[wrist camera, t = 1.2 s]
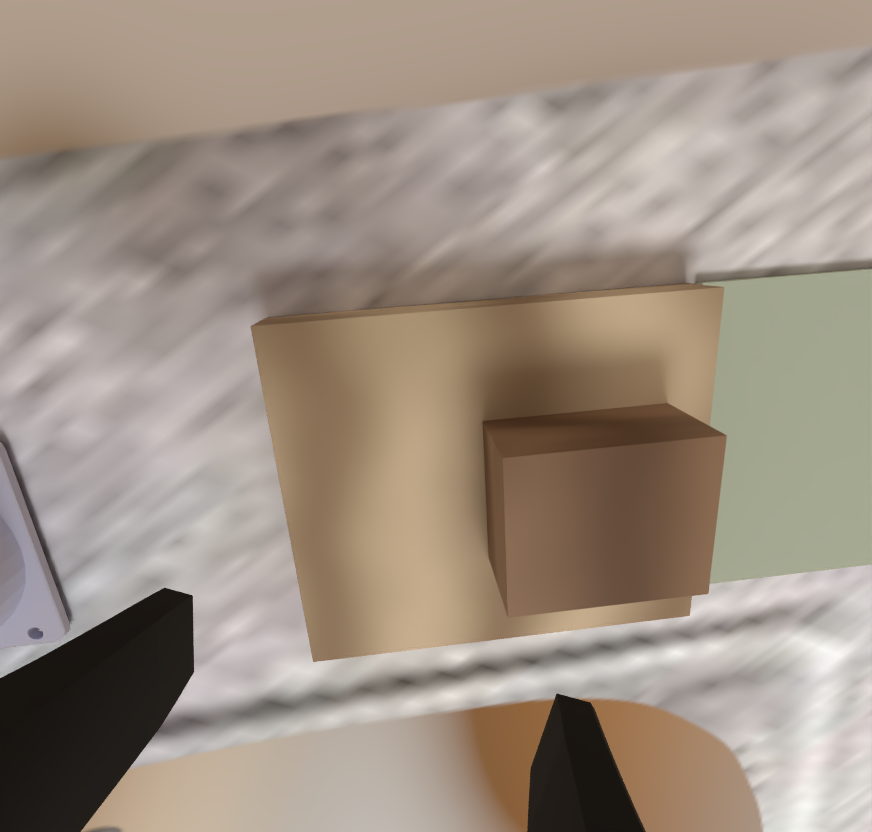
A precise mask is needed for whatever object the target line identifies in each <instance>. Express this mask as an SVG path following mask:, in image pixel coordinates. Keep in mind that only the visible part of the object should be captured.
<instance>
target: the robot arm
mask: <svg viewBox="0 0 872 832" xmlns="http://www.w3.org/2000/svg"><path fill="white" fill-rule="evenodd" d="M36 628H38V629H40V630H41V631H39V630H37V629H36ZM69 629H70V623H69V620H68V618H67V615H66V612H65V609H64V607H63V604H62V601H61V598H60V596H59V593H58V590H57V588H56V585H55V582H54V579H53V577H52V574H51V571H50V569H49V566H48V563H47V560H46V558H45V555H44V552H43V549H42V547H41V544H40V541H39V539H38V536H37V533H36V530H35V528H34V525H33V522H32V519H31V517H30V514H29V511H28V509H27V506H26V503H25V500H24V498H23V495H22V492H21V490H20V487H19V484H18V481H17V479H16V476H15V473H14V470H13V468H12V465H11V462H10V460H9V457H8V454H7V451H6V449H5V447H4V445H3V444H2V443H1V442H0V648H7V647H16V646H25V645H33V644H42V643H50V642H56V641H60V640H61V639H62V638H64V636H65V635H66V634H67V633H68V632H69ZM193 673H194V646H193V595H189V594H185V593H182V592H178V591H174V590H171V589H167V588H163V589H161V590H160V591H158V592H156V593H154V594H152V595H150V596H149V597H147V598H145V599H143V600H142V601H140V602H138V603H136V604H134V605H133V606H131V607H129V608H127V609H126V610H124V611H122V612H120V613H119V614H117V615H115V616H114V617H112V618H110V619H108V620H107V621H105V622H103V623H101V624H99V625H98V626H96V627H94V628H92V629H91V630H89V631H87V632H85V633H84V634H82V635H80V636H78V637H76V638H75V639H73V640H71V641H69V642H67V643H66V644H64V645H62V646H60V647H58V648H57V649H55V650H53V651H51V652H49V653H48V654H46V655H44V656H42V657H40V658H38V659H37V660H35V661H33V662H31V663H29V664H27V665H25V666H23V667H21V668H19V669H17V670H15V671H14V672H12V673H10V674H8V675H6V676H4V677H2V678H0V832H81V830H82V829H83V828H84V826H85V825H86V824H87V823H88V821H89V820H90V819H91V817H92V816H93V815H94V813H95V812H96V811H97V809H98V808H99V807H100V806H101V804H102V803H103V802H104V800H105V799H106V798H107V796H108V795H109V794H110V793H111V791H112V790H113V789H114V787H115V786H116V785H117V783H118V782H119V781H120V779H121V778H122V777H123V776H124V774H125V773H126V772H127V770H128V769H129V768H130V766H131V765H132V764H133V762H134V761H135V760H136V759H137V757H138V756H139V755H140V753H141V752H142V751H143V749H144V748H145V747H146V745H147V744H148V743H149V741H150V740H151V739H152V737H153V736H154V735H155V733H156V732H157V731H158V729H159V728H160V727H161V725H162V724H163V722H164V720H165V719H166V717H167V716H168V714H169V712H170V711H171V709H172V708H173V706H174V705H175V703H176V701H177V700H178V698H179V696H180V695H181V693H182V691H183V690H184V688H185V686H186V684H187V683H188V681H189V679H190V678H191V676H192V674H193ZM527 832H646V831H645V829H644V827H643V825H642V823H641V821H640V818H639V816H638V814H637V812H636V810H635V807H634V805H633V803H632V800H631V798H630V796H629V793H628V791H627V789H626V786H625V784H624V782H623V779H622V777H621V775H620V772H619V770H618V768H617V765H616V763H615V760H614V758H613V755H612V753H611V751H610V748H609V746H608V743H607V740H606V738H605V735H604V733H603V730H602V728H601V725H600V723H599V720H598V717H597V714H596V712H595V709H594V708H593V706H592V704H591V703H590V702H586V701H582V700H579V699H575V698H571V697H568V696H564V695H560V694H556V697H555V700H554V703H553V706H552V709H551V711H550V714H549V717H548V720H547V723H546V726H545V729H544V732H543V735H542V737H541V740H540V743H539V746H538V749H537V752H536V755H535V758H534V760H533V763H532V766H531V773H530V790H529V809H528V831H527Z"/></svg>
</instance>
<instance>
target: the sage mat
mask: <svg viewBox="0 0 872 832" xmlns="http://www.w3.org/2000/svg"><path fill="white" fill-rule="evenodd" d="M696 284H699V285H709V286H718V287H724V297H723V306H722V315H721V325H720V334H719V344H718V353H717V363H716V372H715V381H714V391H713V400H712V410H711V419H710V426H711V427H712V428H714V429H716V430H718V431H720V432H722V433H723V434H725V435H727V440H726V448H725V457H724V465H723V473H722V482H721V490H720V499H719V507H718V516H717V524H716V533H715V541H714V549H713V558H712V566H711V575H710V583H709V584H711V583H720V582H728V581H736V580H745V579H753V578H762V577H770V576H778V575H787V574H795V573H804V572H812V571H820V570H829V569H837V568H846V567H854V566H862V565H871V564H872V268H867V269H855V270H843V271H831V272H818V273H806V274H794V275H782V276H769V277H757V278H745V279H733V280H721V281H708V282H696Z"/></svg>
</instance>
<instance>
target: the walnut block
mask: <svg viewBox="0 0 872 832" xmlns="http://www.w3.org/2000/svg"><path fill="white" fill-rule="evenodd" d="M482 422H483V444H484V466H485V489H486V511H487V534H488V556H489V561H490V564H491V567H492V570H493V573H494V576H495V579H496V583H497V586H498V589H499V592H500V595H501V598H502V601H503V604H504V607H505V610H506V614H507V617H508V618H511V617H520V616H528V615H536V614H545V613H553V612H561V611H569V610H578V609H586V608H594V607H603V606H611V605H619V604H628V603H636V602H644V601H653V600H661V599H669V598H677V597H686V596H694V595H702V594H708V592H709V583H710V575H711V566H712V558H713V549H714V541H715V533H716V524H717V516H718V507H719V499H720V490H721V482H722V473H723V465H724V457H725V448H726V440H727V435H725V434H723V433H722V432H720V431H718V430H716V429H714V428H712V427H711V426H709V425H707V424H705V423H703V422H701V421H700V420H698V419H696V418H694V417H692V416H690V415H689V414H687V413H685V412H683V411H681V410H679V409H678V408H676V407H674V406H672V405H670V404H668V403H664V404H653V405H643V406H632V407H622V408H612V409H601V410H591V411H581V412H570V413H560V414H549V415H539V416H529V417H518V418H508V419H497V420H487V421H482Z"/></svg>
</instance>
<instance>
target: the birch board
mask: <svg viewBox="0 0 872 832" xmlns="http://www.w3.org/2000/svg"><path fill="white" fill-rule="evenodd" d="M723 297H724V287H718V286H709V285H699V284H690V283H684V284H672V285H659V286H647V287H635V288H623V289H610V290H598V291H586V292H574V293H562V294H549V295H537V296H525V297H513V298H500V299H488V300H476V301H464V302H452V303H439V304H427V305H415V306H403V307H390V308H378V309H366V310H354V311H342V312H329V313H317V314H305V315H293V316H280V317H268V318H265V319H263V320H262V321H260V322H258V323H256V324H254V325H252V326H251V331H252V336H253V341H254V347H255V352H256V357H257V363H258V368H259V374H260V379H261V384H262V390H263V395H264V400H265V406H266V411H267V416H268V422H269V427H270V433H271V438H272V443H273V449H274V454H275V459H276V465H277V470H278V475H279V481H280V486H281V492H282V497H283V502H284V508H285V513H286V518H287V524H288V529H289V534H290V540H291V545H292V551H293V556H294V561H295V567H296V572H297V577H298V583H299V588H300V593H301V599H302V604H303V610H304V615H305V620H306V626H307V631H308V636H309V642H310V647H311V652H312V658H313V662H317V661H325V660H333V659H341V658H349V657H357V656H366V655H374V654H382V653H390V652H398V651H406V650H415V649H423V648H431V647H439V646H447V645H455V644H463V643H472V642H480V641H488V640H496V639H504V638H512V637H520V636H529V635H537V634H545V633H553V632H561V631H569V630H577V629H586V628H594V627H602V626H610V625H618V624H626V623H634V622H643V621H651V620H659V619H667V618H675V617H683V616H690V608H691V598H692V596H686V597H677V598H669V599H661V600H653V601H644V602H636V603H628V604H619V605H611V606H603V607H594V608H586V609H578V610H569V611H561V612H553V613H545V614H536V615H528V616H520V617H511V618H508V617H507V614H506V610H505V607H504V604H503V601H502V598H501V595H500V592H499V589H498V586H497V583H496V579H495V576H494V573H493V570H492V567H491V564H490V561H489V556H488V534H487V511H486V489H485V466H484V444H483V422H482V421H487V420H497V419H508V418H518V417H529V416H539V415H549V414H560V413H570V412H581V411H591V410H601V409H612V408H622V407H632V406H643V405H653V404H664V403H668V404H670V405H672V406H674V407H676V408H678V409H679V410H681V411H683V412H685V413H687V414H689V415H690V416H692V417H694V418H696V419H698V420H700V421H701V422H703V423H705V424H707V425H709V426H710V419H711V410H712V400H713V391H714V381H715V372H716V363H717V353H718V344H719V334H720V325H721V315H722V306H723Z"/></svg>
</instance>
